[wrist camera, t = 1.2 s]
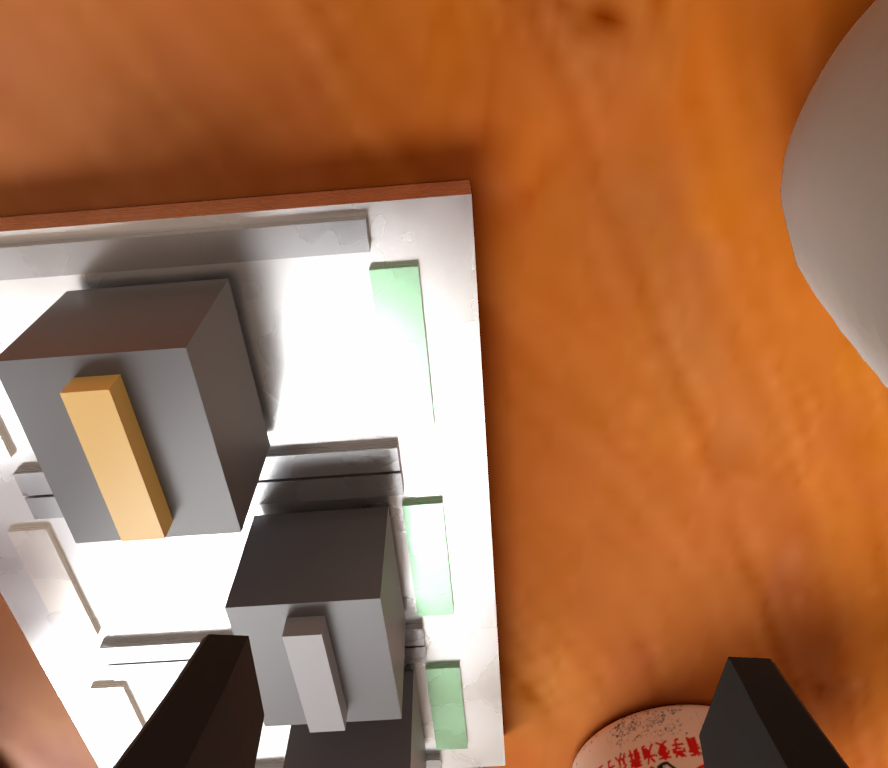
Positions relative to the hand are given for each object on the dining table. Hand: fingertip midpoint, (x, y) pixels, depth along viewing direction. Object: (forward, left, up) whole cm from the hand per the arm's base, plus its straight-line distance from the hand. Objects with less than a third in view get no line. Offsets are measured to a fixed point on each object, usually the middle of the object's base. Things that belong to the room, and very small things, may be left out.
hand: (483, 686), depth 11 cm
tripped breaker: (-7, +1, -9) cm, 12 cm away
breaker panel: (-7, -7, -11) cm, 15 cm away
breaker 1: (-4, -7, -9) cm, 12 cm away
